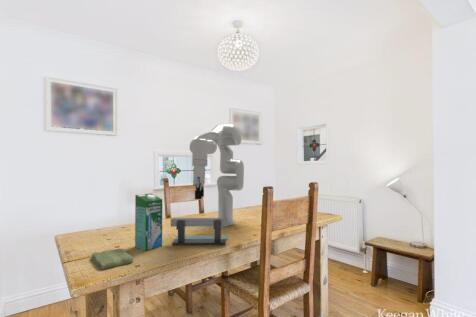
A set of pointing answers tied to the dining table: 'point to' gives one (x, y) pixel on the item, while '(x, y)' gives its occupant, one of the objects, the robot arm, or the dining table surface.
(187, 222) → the rail
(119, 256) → the washcloth
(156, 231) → the milk carton
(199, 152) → the robot arm
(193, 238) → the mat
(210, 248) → the dining table surface
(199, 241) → the rack
